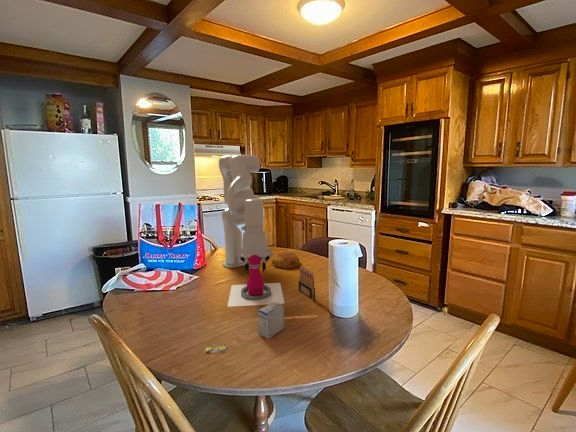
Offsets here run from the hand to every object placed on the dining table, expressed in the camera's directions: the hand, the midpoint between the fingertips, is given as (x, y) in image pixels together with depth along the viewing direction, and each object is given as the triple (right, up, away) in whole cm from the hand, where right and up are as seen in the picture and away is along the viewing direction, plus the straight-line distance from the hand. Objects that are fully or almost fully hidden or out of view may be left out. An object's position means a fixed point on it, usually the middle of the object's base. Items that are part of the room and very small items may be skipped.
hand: (255, 271), depth 131 cm
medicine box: (+8, -15, -27) cm, 32 cm away
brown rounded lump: (+13, -4, +42) cm, 44 cm away
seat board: (0, -10, +2) cm, 11 cm away
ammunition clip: (+21, -11, +1) cm, 24 cm away
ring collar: (0, -10, +2) cm, 10 cm away
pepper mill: (0, -10, +1) cm, 10 cm away
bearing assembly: (-8, -18, -36) cm, 41 cm away
